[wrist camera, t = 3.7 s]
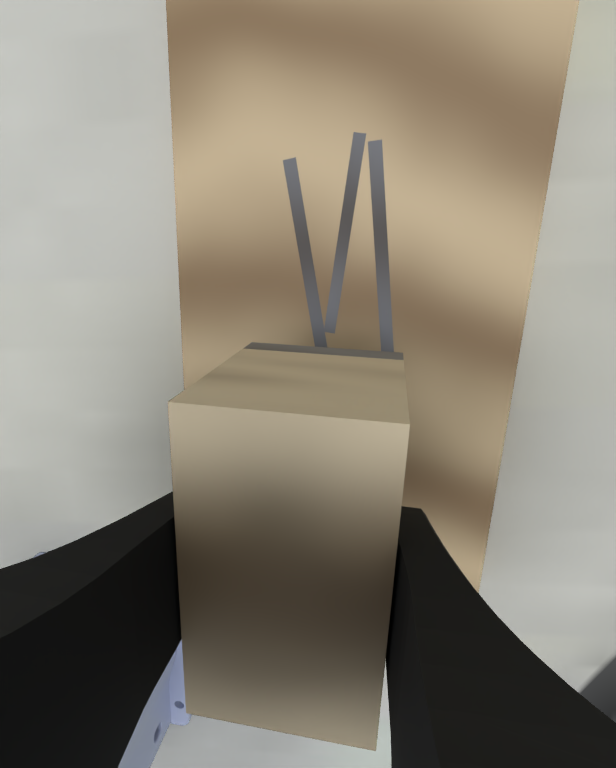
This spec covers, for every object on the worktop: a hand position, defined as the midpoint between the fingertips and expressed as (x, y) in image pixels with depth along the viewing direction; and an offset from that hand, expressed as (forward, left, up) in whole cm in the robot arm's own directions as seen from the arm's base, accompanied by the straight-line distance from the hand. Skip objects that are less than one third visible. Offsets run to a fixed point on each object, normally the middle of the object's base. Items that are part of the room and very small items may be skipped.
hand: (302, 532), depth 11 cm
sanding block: (0, 0, -3) cm, 3 cm away
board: (+4, 0, -8) cm, 9 cm away
